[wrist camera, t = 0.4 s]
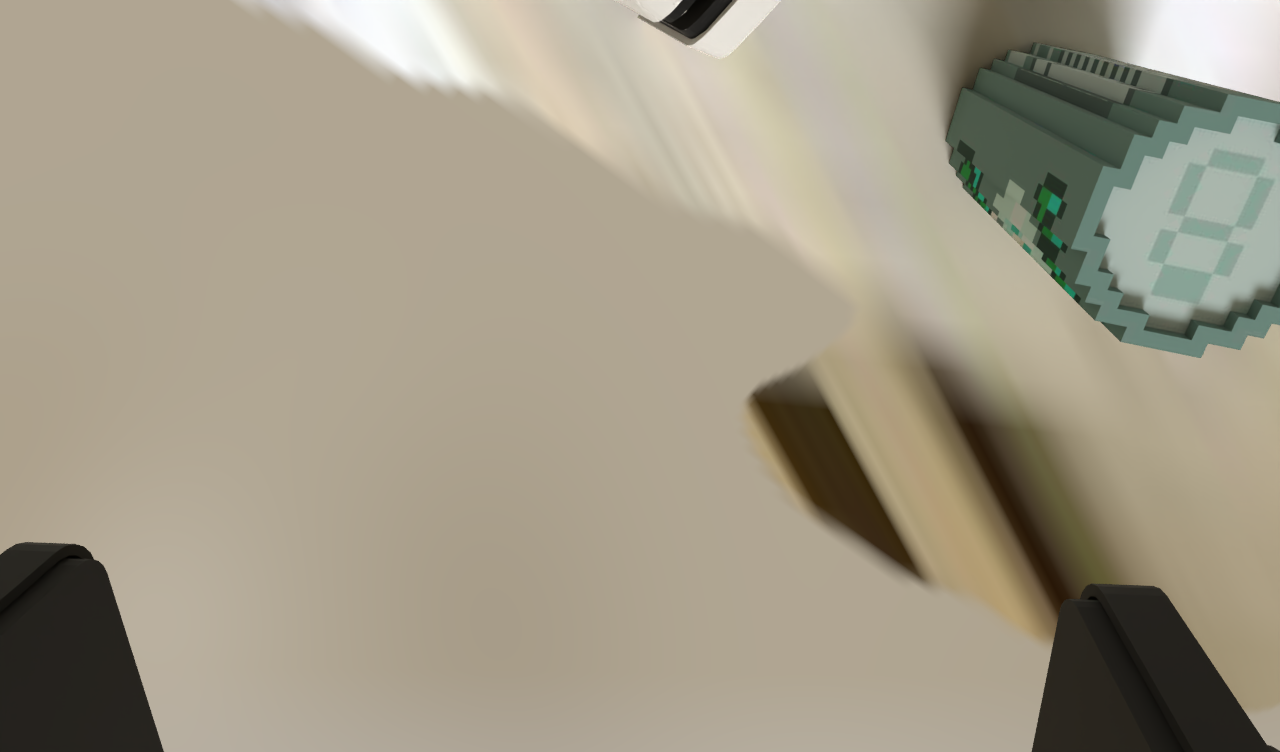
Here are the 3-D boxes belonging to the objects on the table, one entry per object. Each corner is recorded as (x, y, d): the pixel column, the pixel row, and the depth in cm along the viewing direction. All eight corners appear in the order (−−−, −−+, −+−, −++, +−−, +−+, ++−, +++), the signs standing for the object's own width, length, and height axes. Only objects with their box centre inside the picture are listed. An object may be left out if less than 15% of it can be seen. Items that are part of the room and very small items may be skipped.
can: (929, 191, 37) (1041, 325, 23) (979, 31, 34) (1138, 76, 21) (1080, 222, 37) (1280, 374, 23) (1141, 64, 34) (1409, 129, 20)
